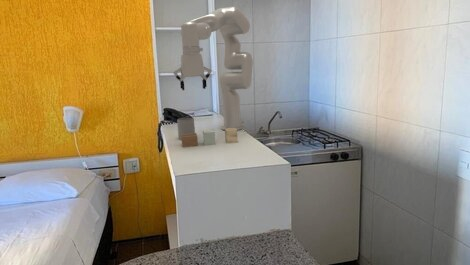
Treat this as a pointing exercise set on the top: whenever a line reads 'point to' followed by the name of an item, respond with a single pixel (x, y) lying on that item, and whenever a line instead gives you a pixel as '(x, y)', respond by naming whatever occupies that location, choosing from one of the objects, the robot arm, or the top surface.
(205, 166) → the top surface
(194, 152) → the top surface
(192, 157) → the top surface
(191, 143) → the walnut block
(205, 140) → the sage block
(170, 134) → the top surface
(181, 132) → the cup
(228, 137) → the maple block
